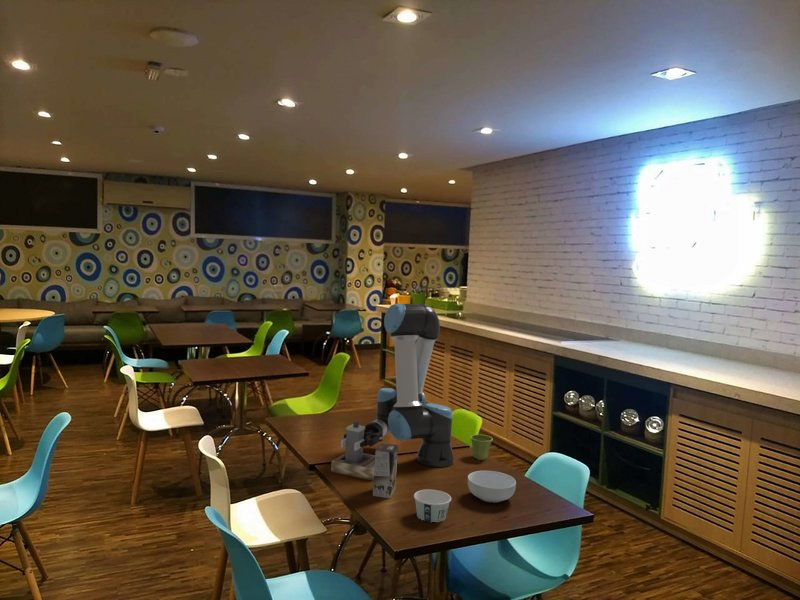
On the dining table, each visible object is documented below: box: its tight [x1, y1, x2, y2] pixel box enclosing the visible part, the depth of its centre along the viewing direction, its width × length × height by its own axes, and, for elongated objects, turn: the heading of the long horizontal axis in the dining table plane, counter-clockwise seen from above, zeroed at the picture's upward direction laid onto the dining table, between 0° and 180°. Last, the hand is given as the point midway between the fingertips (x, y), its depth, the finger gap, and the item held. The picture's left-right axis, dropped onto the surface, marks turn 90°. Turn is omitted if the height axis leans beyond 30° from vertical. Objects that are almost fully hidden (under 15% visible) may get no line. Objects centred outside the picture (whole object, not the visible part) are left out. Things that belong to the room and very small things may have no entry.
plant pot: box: [469, 434, 494, 461], centre depth 252 cm, size 9×9×9 cm
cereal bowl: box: [467, 470, 517, 504], centre depth 208 cm, size 17×17×7 cm
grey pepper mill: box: [344, 420, 366, 463], centre depth 230 cm, size 5×5×16 cm
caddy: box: [330, 452, 375, 482], centre depth 229 cm, size 18×15×4 cm
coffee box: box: [372, 443, 399, 499], centre depth 207 cm, size 9×6×16 cm
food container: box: [413, 489, 452, 523], centre depth 190 cm, size 12×12×6 cm
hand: (348, 445), depth 225 cm, fingers closed on grey pepper mill, 5 cm apart
